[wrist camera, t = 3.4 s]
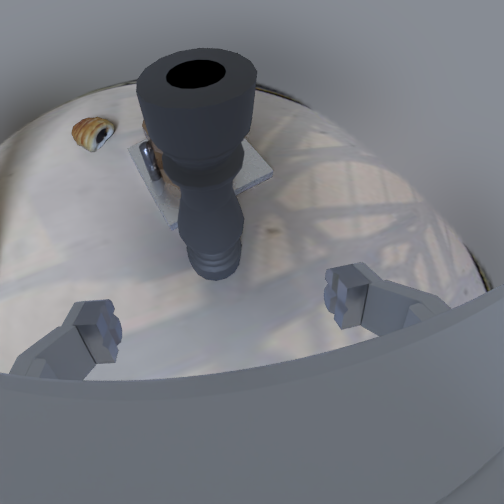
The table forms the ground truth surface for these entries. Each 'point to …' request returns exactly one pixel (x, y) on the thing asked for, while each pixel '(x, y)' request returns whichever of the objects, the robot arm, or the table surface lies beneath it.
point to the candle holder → (202, 146)
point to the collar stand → (170, 194)
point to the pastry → (92, 133)
